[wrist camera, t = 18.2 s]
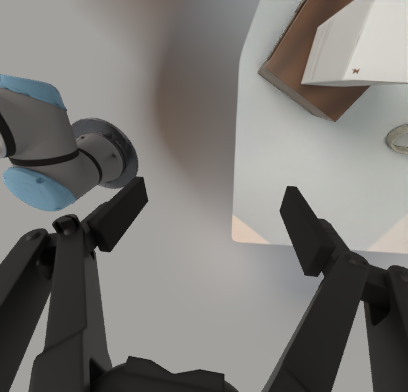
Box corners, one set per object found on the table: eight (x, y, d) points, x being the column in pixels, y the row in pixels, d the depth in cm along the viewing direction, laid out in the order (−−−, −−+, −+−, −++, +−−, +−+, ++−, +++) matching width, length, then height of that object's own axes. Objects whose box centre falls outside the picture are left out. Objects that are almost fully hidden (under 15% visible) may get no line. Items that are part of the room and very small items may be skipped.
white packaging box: (345, 87, 28) (414, 86, 18) (299, 84, 29) (339, 81, 18) (372, 26, 24) (482, -23, 14) (317, 23, 25) (382, -25, 14)
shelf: (257, 72, 37) (265, 68, 28) (301, 1, 30) (328, -33, 22) (313, 114, 39) (335, 122, 31) (364, 56, 33) (409, 45, 25)
